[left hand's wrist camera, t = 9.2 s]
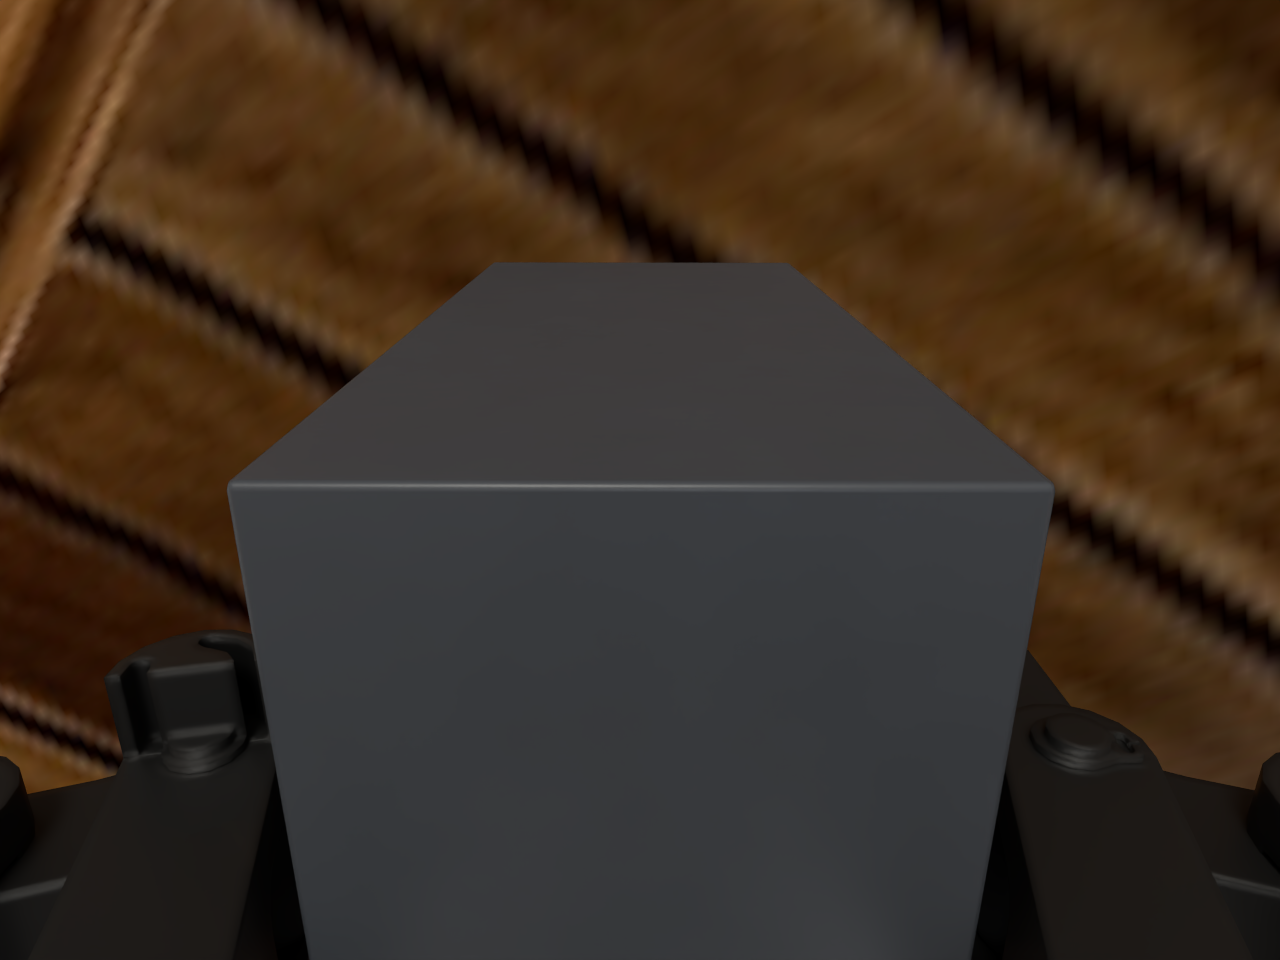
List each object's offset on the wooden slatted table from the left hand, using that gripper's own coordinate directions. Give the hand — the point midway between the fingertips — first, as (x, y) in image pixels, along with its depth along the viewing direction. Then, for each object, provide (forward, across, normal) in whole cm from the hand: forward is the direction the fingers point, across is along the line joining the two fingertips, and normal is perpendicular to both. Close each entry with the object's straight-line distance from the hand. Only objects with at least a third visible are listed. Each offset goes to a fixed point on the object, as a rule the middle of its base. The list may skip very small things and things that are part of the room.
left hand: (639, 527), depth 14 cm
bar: (+1, 0, -7) cm, 7 cm away
